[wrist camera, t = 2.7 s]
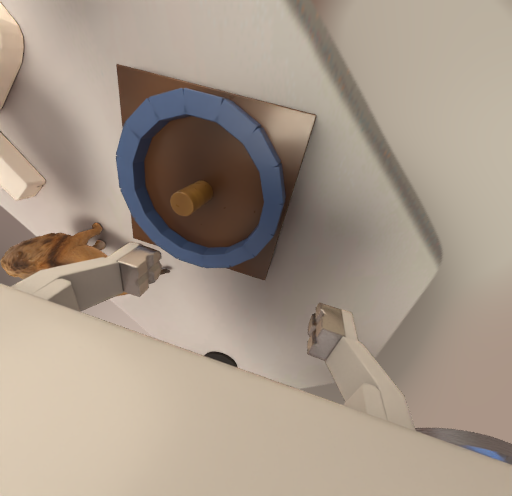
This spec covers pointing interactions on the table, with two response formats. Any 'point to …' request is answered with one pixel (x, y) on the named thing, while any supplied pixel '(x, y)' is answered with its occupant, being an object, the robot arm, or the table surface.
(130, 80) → the platform
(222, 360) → the mat
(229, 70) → the table surface
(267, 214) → the ring
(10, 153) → the jewelry stand
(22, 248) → the lion figurine
